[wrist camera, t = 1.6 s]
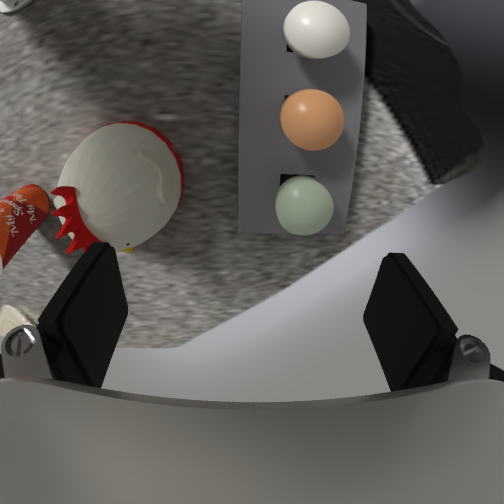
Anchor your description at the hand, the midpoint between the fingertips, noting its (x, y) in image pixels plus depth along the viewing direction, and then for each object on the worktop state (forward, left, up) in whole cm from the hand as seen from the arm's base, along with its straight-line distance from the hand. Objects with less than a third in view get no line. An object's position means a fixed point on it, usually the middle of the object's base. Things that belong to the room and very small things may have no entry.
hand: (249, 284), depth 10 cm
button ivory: (-12, +5, -21) cm, 25 cm away
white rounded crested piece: (+4, -14, -24) cm, 28 cm away
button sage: (+4, +5, -21) cm, 22 cm away
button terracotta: (-4, +5, -21) cm, 22 cm away
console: (-4, +5, -24) cm, 25 cm away
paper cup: (+6, -29, -24) cm, 38 cm away
